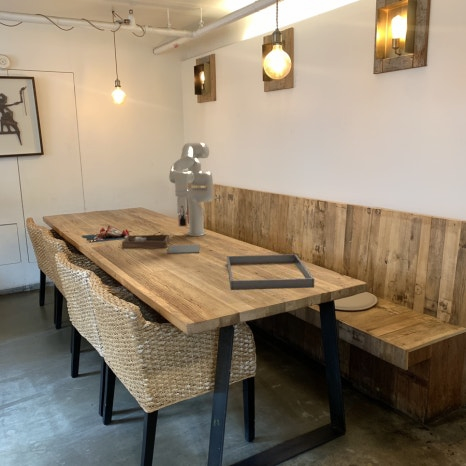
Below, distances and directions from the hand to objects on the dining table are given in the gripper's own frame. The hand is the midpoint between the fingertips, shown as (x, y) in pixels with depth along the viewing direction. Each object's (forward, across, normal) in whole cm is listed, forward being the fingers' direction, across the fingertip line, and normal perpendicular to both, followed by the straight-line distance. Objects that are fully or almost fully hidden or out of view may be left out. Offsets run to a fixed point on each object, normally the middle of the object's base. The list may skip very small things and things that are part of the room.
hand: (183, 224), depth 269 cm
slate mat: (+15, 0, 0) cm, 15 cm away
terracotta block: (+1, 0, 0) cm, 1 cm away
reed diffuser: (+15, -18, -22) cm, 33 cm away
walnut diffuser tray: (+15, -16, -24) cm, 33 cm away
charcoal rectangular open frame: (+15, +55, +42) cm, 71 cm away
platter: (+16, -43, -52) cm, 69 cm away
